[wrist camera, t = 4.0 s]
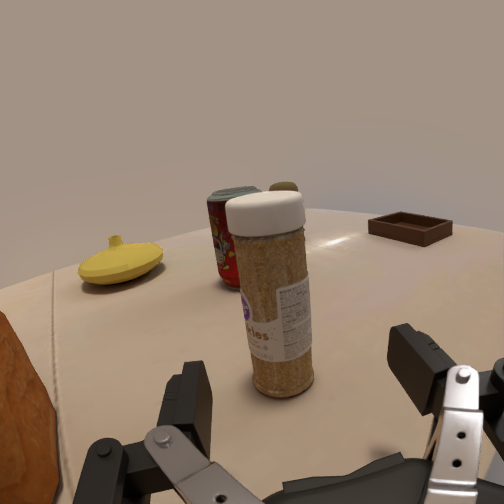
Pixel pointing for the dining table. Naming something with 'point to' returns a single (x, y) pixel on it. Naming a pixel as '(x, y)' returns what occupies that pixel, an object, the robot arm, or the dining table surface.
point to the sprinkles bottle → (274, 288)
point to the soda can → (225, 233)
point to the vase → (120, 262)
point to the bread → (24, 427)
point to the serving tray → (411, 228)
